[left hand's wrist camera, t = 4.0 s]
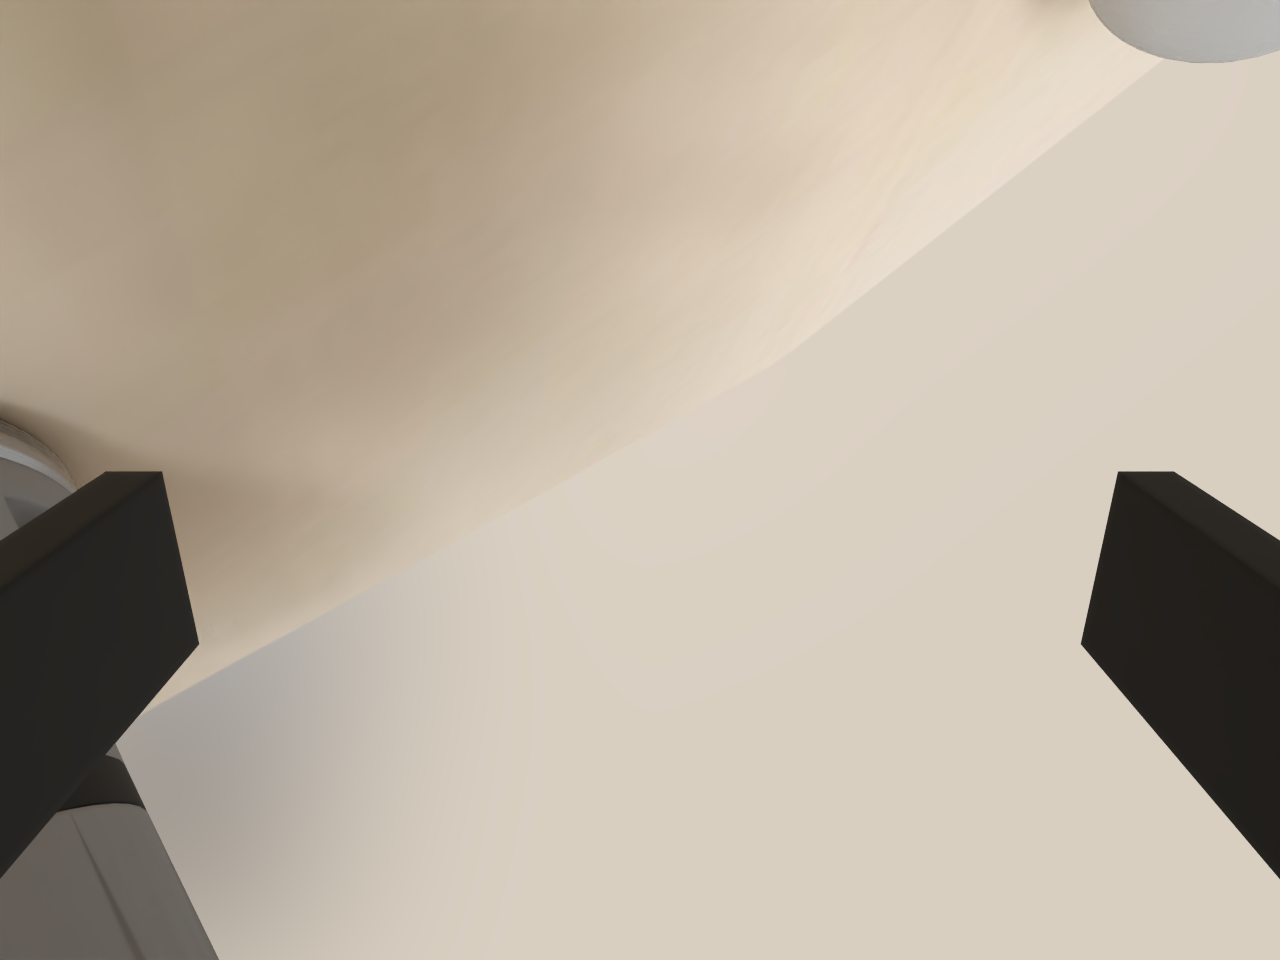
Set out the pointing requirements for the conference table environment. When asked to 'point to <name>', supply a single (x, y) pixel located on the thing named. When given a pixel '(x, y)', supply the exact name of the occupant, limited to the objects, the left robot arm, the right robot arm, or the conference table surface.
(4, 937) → the left robot arm
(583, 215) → the conference table surface
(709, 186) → the conference table surface
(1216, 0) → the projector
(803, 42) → the conference table surface
